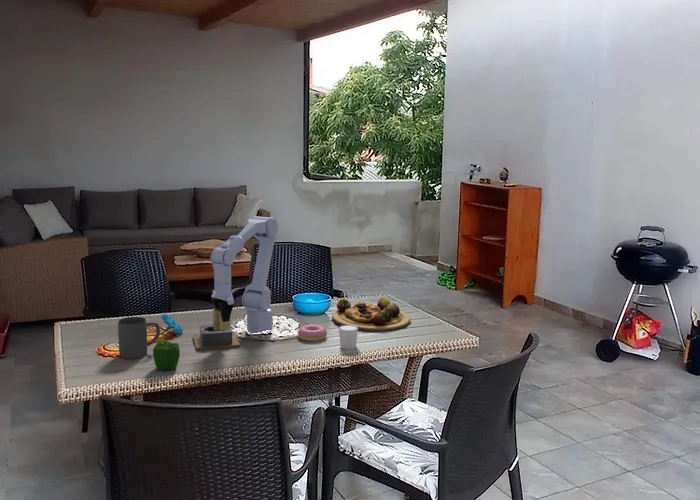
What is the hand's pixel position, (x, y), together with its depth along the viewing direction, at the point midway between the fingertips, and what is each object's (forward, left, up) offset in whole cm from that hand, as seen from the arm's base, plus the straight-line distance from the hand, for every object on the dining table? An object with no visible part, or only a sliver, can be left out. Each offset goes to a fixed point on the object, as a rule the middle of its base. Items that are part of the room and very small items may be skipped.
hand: (223, 319), depth 228 cm
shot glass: (-43, +10, -10) cm, 45 cm away
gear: (+17, -20, -10) cm, 28 cm away
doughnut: (-33, -3, -10) cm, 35 cm away
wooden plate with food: (-62, -19, -11) cm, 65 cm away
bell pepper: (+20, +16, -10) cm, 28 cm away
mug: (+28, 0, -10) cm, 30 cm away
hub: (+2, -6, -10) cm, 12 cm away
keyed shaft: (0, 0, -3) cm, 3 cm away
